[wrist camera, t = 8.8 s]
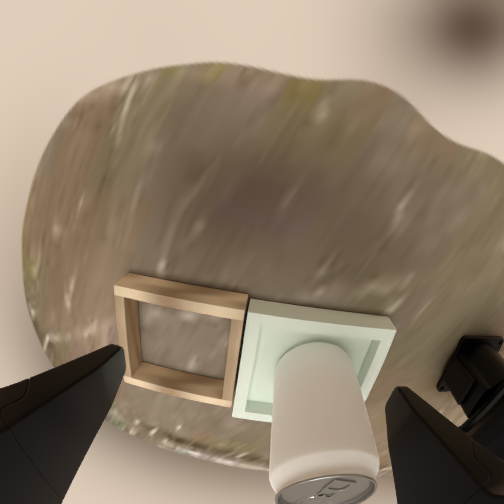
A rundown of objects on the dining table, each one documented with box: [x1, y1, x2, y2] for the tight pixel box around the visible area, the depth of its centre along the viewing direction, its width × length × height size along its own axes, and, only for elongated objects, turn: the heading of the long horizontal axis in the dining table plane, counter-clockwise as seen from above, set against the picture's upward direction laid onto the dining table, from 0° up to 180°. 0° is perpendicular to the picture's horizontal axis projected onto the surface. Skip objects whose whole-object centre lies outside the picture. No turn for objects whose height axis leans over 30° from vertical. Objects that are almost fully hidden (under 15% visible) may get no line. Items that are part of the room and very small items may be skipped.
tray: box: [232, 299, 397, 422], centre depth 22 cm, size 11×11×2 cm
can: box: [269, 342, 379, 504], centre depth 17 cm, size 6×6×12 cm
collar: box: [114, 273, 248, 407], centre depth 22 cm, size 10×10×2 cm
